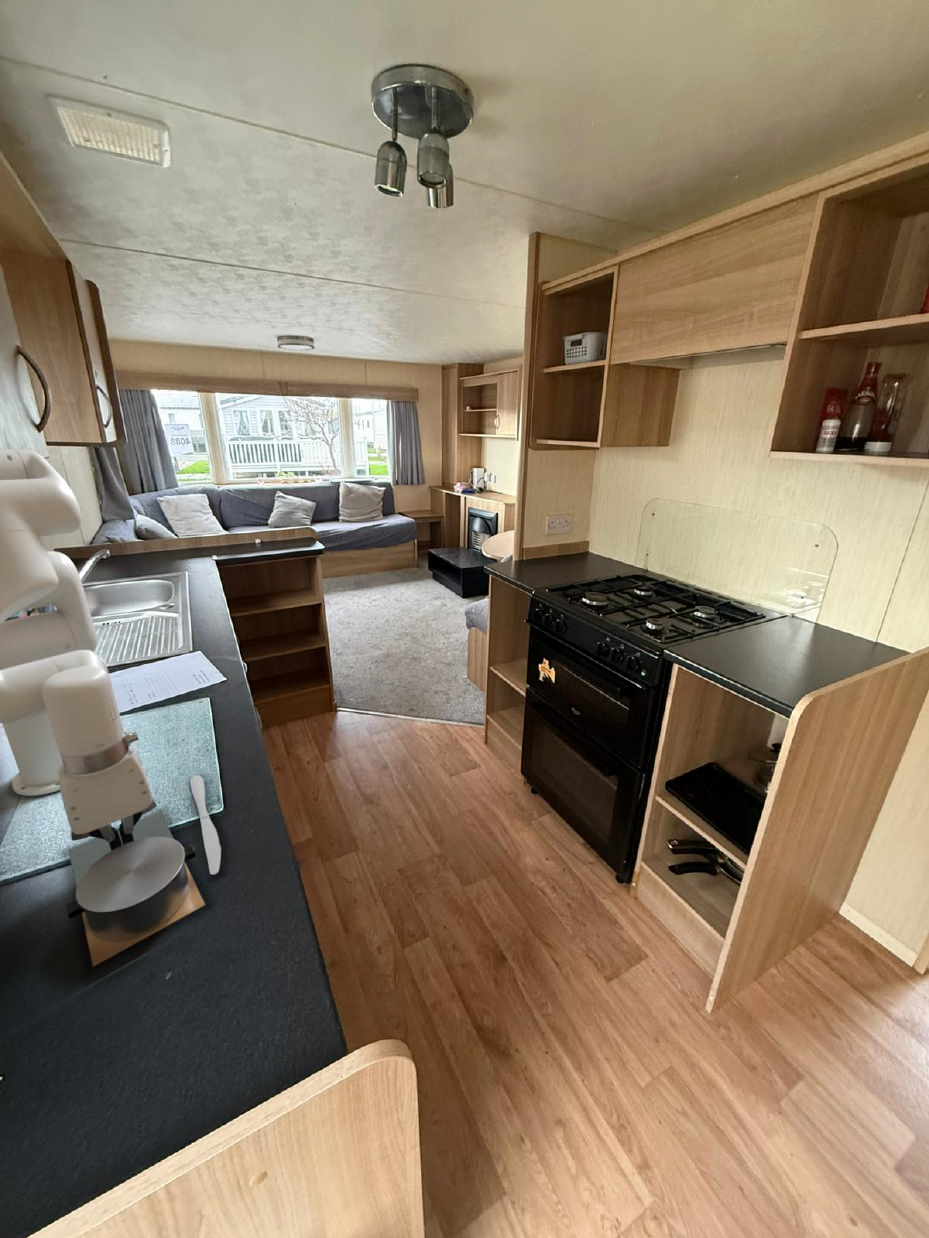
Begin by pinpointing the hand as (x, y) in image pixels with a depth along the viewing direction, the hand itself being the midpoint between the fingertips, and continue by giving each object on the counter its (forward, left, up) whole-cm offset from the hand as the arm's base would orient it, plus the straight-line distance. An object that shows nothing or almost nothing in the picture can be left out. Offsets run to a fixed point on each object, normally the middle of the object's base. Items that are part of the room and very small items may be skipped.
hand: (124, 852), depth 77 cm
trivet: (+11, 0, -1) cm, 11 cm away
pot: (+10, 0, -1) cm, 10 cm away
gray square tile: (-2, 0, -1) cm, 2 cm away
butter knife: (-1, +12, -2) cm, 12 cm away
